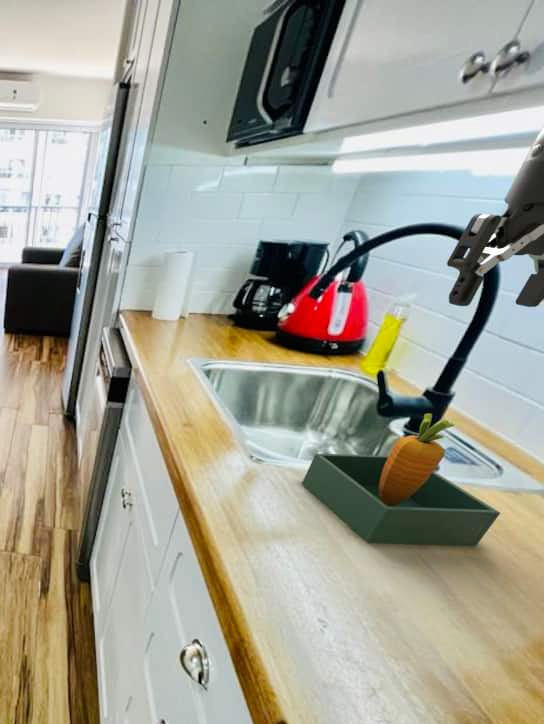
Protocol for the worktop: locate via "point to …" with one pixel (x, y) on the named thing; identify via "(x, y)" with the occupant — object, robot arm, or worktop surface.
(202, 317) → the worktop surface
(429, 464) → the carrot
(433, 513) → the dark green tray
